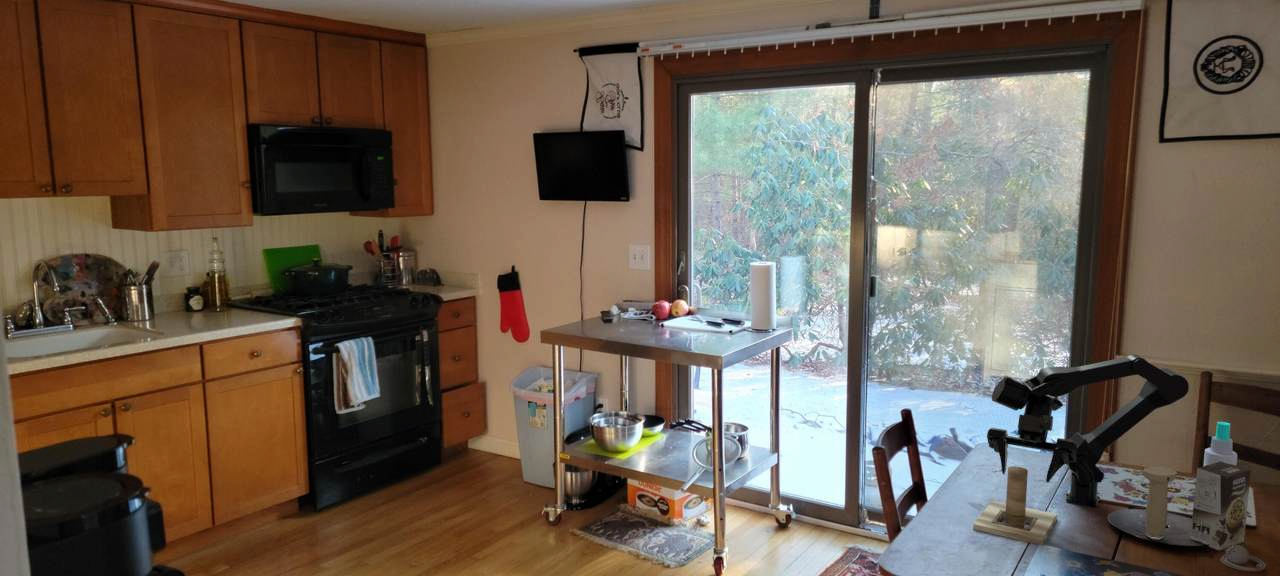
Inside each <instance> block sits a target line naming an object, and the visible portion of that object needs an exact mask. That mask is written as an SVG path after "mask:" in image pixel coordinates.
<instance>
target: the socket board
mask: <svg viewBox="0 0 1280 576" xmlns="http://www.w3.org/2000/svg"><path fill="white" fill-rule="evenodd" d="M1005 510H1006V502H1003V501H998V500H997V501H996V500H991V501H990V502H989V503H988V505H987V506H986V507H985V509H984V510H983V511H982V513H980V515H979V516H978V517H977V519H976V520H975V522H974V523H973V527H972V528H973V530H975V531H979V532H984V533H988V534H993V535H996V536H997V535H998V536H1001V537H1006V538H1011V539H1014V540H1018V541H1023V542H1027V543H1031V544H1036V545H1041V546H1042V545H1043V543H1044V542H1045V541H1046V539H1047V537H1048V535H1049V533H1050V532H1051V530H1052V528H1053V526H1054V524H1055V523H1056V521H1057V519H1058V514H1057V513H1054V512H1049V511H1044V510H1039V509H1034V508H1029V507H1026V510H1025V513H1026V514H1025V524H1026V523H1028V524H1029V525H1028V526H1027V527H1024V528H1023V527H1018V526H1014V525H1010V524H1005V522H1004V523H1003V522H1001V521H1002V519H1003V518H1004V519H1005V514H1006V513H1005Z"/></svg>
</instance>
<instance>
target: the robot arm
mask: <svg viewBox="0 0 1280 576" xmlns="http://www.w3.org/2000/svg"><path fill="white" fill-rule="evenodd" d="M1131 376H1139V377H1141V378H1142V379H1144V380H1146V381H1144V384H1143V386H1142V388H1141V389H1140V392H1139V393H1138V394H1137V395H1136V396H1134V398H1132V399H1130V400H1129V402H1127V403H1126V404H1124V405H1123V406H1122V407H1121V408H1120V409H1119V410H1117V411H1116V412H1115V413H1114V414H1112V415H1111V416H1109V417H1108V418H1107V419H1106V420H1105V421H1103V422H1102V423H1101V424H1100V425H1098V426H1097V427H1096V428H1095V429H1094V430H1092V431H1091V432H1089V433H1085V434H1083V435H1082V434H1080V433H1079V432H1078V431H1076V432H1074V433H1073V434H1072V436H1071V437H1070V438H1068V439H1065V438H1059V437H1058V438H1057V439H1056V443H1055V442H1048V441H1047V438H1048V433H1049V432H1052V431H1053V424H1054V416H1052V413H1053V412H1056V411H1058V410H1059V409H1060V408H1062V407H1063V406H1064V404H1063V402H1062V401H1061V400H1059V398H1058V397H1062V396H1064V395H1065V396H1066V395H1067V394H1070V393H1072V392H1075V391H1076V390H1077V389H1079V388H1081V387H1084V386H1087V385H1091V384H1096V383H1102V382H1107V381H1112V380H1116V379H1120V378H1125V377H1131ZM1189 387H1190V385H1189V382H1188V380H1187V379H1186V377H1184V376H1182V375H1181V374H1179V373H1178V372H1175V371H1173V370H1172V369H1168V368H1159V367H1157V366H1155V365H1154V364H1152V363H1150V362H1148V360H1146V359H1145V358H1144V357H1141V356H1140V355H1138V354H1129V355H1127V356H1124V357H1119V358H1115V359H1110V360H1106V361H1100V362H1094V363H1090V364H1086V365H1085V364H1084V365H1081V366H1073V367H1071V366H1048V367H1044V368H1042V369H1040V370H1039V372H1038V373H1037V374H1036V375H1034V376H1033V377H1030V378H1029V379H1027V380H1025V381H1023V382H1021V381H1018V380H1015V379H1014V378H1012V377H1010V376H1008V375H1004V376H1003V378H1002V379H1001V380H1000V381H999V382H998V383H997V384H995V386H994V389H993V390H992V391H993V392H992V394H991V401H992V402H994V403H996V404H998V405H1001V406H1003V407H1006V408H1008V409H1009V410H1013V411H1015V412H1016V411H1018V410H1023V409H1024V411H1023V412H1024V413H1023V414H1019V416H1018V417H1019V418H1018V423H1017V435H1019V437H1018V436H1013V435H1011V436H1010V435H1009V434H1008V429H1002V428H996V427H990V428H989V429H988V430H987V433H986V438H987V443H988V448H991V449H992V450H994V452H995V453H998V454H999V457H1000V458H999V459H1000V464H1001V465H1000V466H1001V471H1002V473H1001V474H1002V475H1006V471H1007V466H1008V465H1007V464H1008V454H1009V450H1008V448H1009V445H1011V446H1017V447H1021V448H1029V449H1034V450H1041V451H1046V452H1052V456H1051V457H1052V458H1051V460H1050V463H1049V466H1048V469H1047V473H1046V479H1045V481H1046V483H1050V481H1051V480H1052V478H1053V477H1054V476H1055V475H1056V473H1057V472H1058V471H1059V470H1060V469H1062V467H1063V466H1064V465H1066V466H1067V467H1068V469H1069V470H1070V471H1071V474H1070V488H1069V493H1068V495H1067V496H1066V498H1065V501H1066V502H1067V503H1073V504H1077V505H1083V506H1088V507H1091V508H1093V507H1094V508H1096V507H1097V506H1098V505H1099V502H1100V500H1101V497H1100V496H1098V487H1099V486H1098V485H1099V484H1098V483H1102V481H1103V480H1104V477H1105V473H1104V472H1103V471H1102V470H1101V469H1100V468H1099V467H1098V466H1097V464H1098V463H1099V462H1100V461H1101V458H1102V457H1103V455H1104V454H1105V451H1106V449H1107V448H1108V447H1110V446H1112V444H1113V443H1115V442H1116V441H1117V440H1118V439H1120V438H1121V437H1123V436H1124V435H1125V434H1126V433H1127V432H1129V431H1130V430H1131V429H1133V428H1134V427H1135V426H1136V425H1138V424H1139V423H1140V422H1141V421H1142V420H1144V419H1145V418H1147V416H1149V415H1151V414H1152V413H1153V412H1154V411H1155V410H1157V409H1160V408H1163V407H1166V406H1169V405H1172V404H1174V403H1176V402H1177V401H1179V400H1181V399H1183V398H1184V397H1186V396H1187V395H1188V394H1189V389H1190V388H1189Z"/></svg>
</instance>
